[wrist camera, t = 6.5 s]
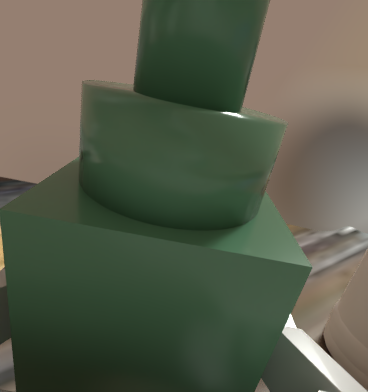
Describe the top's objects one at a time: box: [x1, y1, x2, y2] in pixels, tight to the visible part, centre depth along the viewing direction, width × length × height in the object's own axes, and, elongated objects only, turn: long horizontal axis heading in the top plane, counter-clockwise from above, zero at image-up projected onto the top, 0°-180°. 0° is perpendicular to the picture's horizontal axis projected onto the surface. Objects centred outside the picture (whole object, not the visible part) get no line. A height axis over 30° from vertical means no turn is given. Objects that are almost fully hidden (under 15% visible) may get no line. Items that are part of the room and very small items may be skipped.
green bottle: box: [0, 0, 312, 392], centre depth 8 cm, size 5×5×24 cm
